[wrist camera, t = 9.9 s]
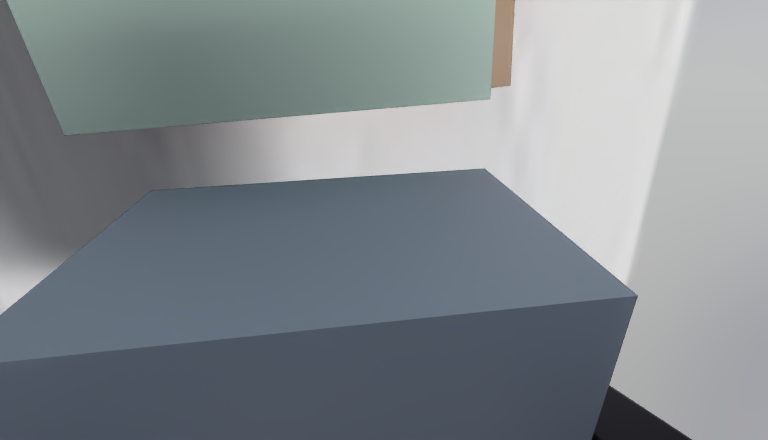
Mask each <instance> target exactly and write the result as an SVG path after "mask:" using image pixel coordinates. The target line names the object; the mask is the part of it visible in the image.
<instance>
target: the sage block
mask: <svg viewBox="0 0 768 440" xmlns="http://www.w3.org/2000/svg"><path fill="white" fill-rule="evenodd" d="M6 1H7V3H8V6H9V8H10V10H11V13H12V15H13V17H14V19H15V22H16V24H17V26H18V29H19V31H20V33H21V36H22V38H23V40H24V43H25V45H26V47H27V50H28V52H29V54H30V57H31V59H32V61H33V64H34V66H35V68H36V71H37V73H38V75H39V78H40V80H41V82H42V85H43V87H44V89H45V92H46V94H47V96H48V99H49V101H50V103H51V106H52V108H53V110H54V113H55V115H56V117H57V120H58V122H59V124H60V127H61V129H62V131H63V134H64V136H65V135H77V134H89V133H100V132H112V131H124V130H135V129H147V128H159V127H171V126H182V125H194V124H206V123H218V122H229V121H241V120H253V119H265V118H276V117H288V116H300V115H312V114H323V113H335V112H347V111H359V110H370V109H382V108H394V107H405V106H417V105H429V104H441V103H452V102H464V101H476V100H488V99H490V96H491V78H492V61H493V43H494V25H495V7H496V0H6Z"/></svg>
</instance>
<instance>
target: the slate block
mask: <svg viewBox="0 0 768 440" xmlns="http://www.w3.org/2000/svg"><path fill="white" fill-rule="evenodd" d="M637 297H638V295H636V294H635V293H634V292H633V291H632V290H630V289H629V288H628V287H627V286H626V285H624V284H623V283H622V282H621V281H620V280H618V279H617V278H616V277H615V276H614V275H612V274H611V273H610V272H609V271H607V270H606V269H605V268H604V267H603V266H601V265H600V264H599V263H598V262H597V261H595V260H594V259H593V258H592V257H591V256H589V255H588V254H587V253H586V252H585V251H583V250H582V249H581V248H580V247H579V246H577V245H576V244H575V243H574V242H573V241H571V240H570V239H569V238H568V237H567V236H565V235H564V234H563V233H562V232H560V231H559V230H558V229H557V228H556V227H554V226H553V225H552V224H551V223H550V222H548V221H547V220H546V219H545V218H544V217H542V216H541V215H540V214H539V213H538V212H536V211H535V210H534V209H533V208H532V207H530V206H529V205H528V204H527V203H526V202H524V201H523V200H522V199H521V198H520V197H518V196H517V195H516V194H515V193H513V192H512V191H511V190H510V189H509V188H507V187H506V186H505V185H504V184H503V183H501V182H500V181H499V180H498V179H497V178H495V177H494V176H493V175H492V174H491V173H489V172H488V171H487V170H486V169H471V170H456V171H441V172H425V173H410V174H395V175H379V176H364V177H349V178H333V179H318V180H303V181H287V182H272V183H257V184H242V185H226V186H211V187H196V188H180V189H165V190H152V191H151V192H149V193H148V194H147V195H146V196H145V197H143V198H142V199H141V200H140V201H138V202H137V203H136V204H135V205H134V206H132V207H131V208H130V209H129V210H128V211H126V212H125V213H124V214H123V215H121V216H120V217H119V218H118V219H117V220H115V221H114V222H113V223H112V224H110V225H109V226H108V227H107V228H106V229H104V230H103V231H102V232H101V233H100V234H98V235H97V236H96V237H95V238H93V239H92V240H91V241H90V242H89V243H87V244H86V245H85V246H84V247H83V248H81V249H80V250H79V251H78V252H76V253H75V254H74V255H73V256H72V257H70V258H69V259H68V260H67V261H66V262H64V263H63V264H62V265H61V266H59V267H58V268H57V269H56V270H55V271H53V272H52V273H51V274H50V275H48V276H47V277H46V278H45V279H44V280H42V281H41V282H40V283H39V284H38V285H36V286H35V287H34V288H33V289H31V290H30V291H29V292H28V293H27V294H25V295H24V296H23V297H22V298H21V299H19V300H18V301H17V302H16V303H14V304H13V305H12V306H11V307H10V308H8V309H7V310H6V311H5V312H3V313H2V314H1V315H0V440H592V436H593V433H594V430H595V427H596V424H597V421H598V418H599V415H600V412H601V409H602V405H603V402H604V399H605V396H606V393H607V390H608V387H609V384H610V381H611V377H612V374H613V371H614V368H615V365H616V362H617V359H618V356H619V352H620V349H621V346H622V343H623V340H624V337H625V334H626V331H627V328H628V325H629V321H630V318H631V315H632V312H633V309H634V306H635V303H636V299H637Z"/></svg>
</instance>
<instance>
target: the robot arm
mask: <svg viewBox="0 0 768 440" xmlns="http://www.w3.org/2000/svg"><path fill="white" fill-rule="evenodd" d="M592 440H692V439H690V438H689V437H687V436H686V435H684V434H683V433H681V432H680V431H678V430H677V429H675V428H673V427H672V426H670V425H669V424H667V423H666V422H664V421H663V420H661V419H660V418H658V417H657V416H655V415H654V414H652V413H650V412H649V411H648V410H646V409H644V408H643V407H642V406H640V405H639V404H637V403H635V402H634V401H632V400H631V399H629V398H628V397H626V396H625V395H623V394H622V393H620V392H619V391H617V390H615V389H614V388H613V387H611V386H610V385H609V387H608V390H607V393H606V396H605V399H604V402H603V405H602V409H601V412H600V415H599V418H598V421H597V424H596V427H595V430H594V433H593V436H592Z"/></svg>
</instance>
